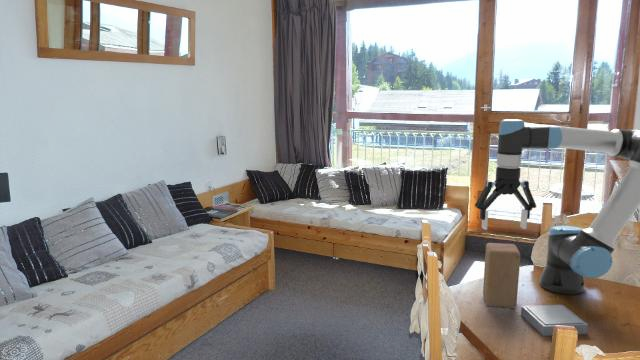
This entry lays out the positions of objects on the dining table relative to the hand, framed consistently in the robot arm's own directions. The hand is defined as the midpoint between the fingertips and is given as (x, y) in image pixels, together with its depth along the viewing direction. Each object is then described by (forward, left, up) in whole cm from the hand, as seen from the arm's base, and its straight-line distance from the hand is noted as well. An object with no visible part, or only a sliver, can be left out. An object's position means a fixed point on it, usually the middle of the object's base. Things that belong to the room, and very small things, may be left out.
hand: (503, 228), depth 167 cm
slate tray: (-10, +17, -27) cm, 33 cm away
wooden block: (0, 0, -27) cm, 27 cm away
